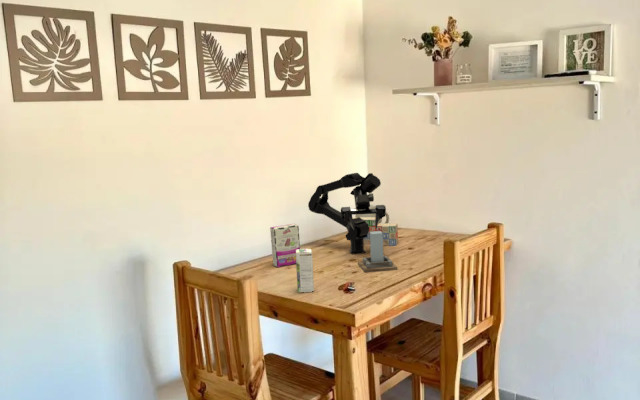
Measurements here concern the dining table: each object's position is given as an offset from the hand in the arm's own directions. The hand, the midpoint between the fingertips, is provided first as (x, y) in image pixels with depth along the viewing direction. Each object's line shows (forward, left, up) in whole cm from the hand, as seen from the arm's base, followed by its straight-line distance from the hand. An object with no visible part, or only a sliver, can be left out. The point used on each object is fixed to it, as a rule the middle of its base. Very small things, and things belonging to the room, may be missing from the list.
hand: (365, 228), depth 241 cm
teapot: (-53, +14, -14) cm, 57 cm away
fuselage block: (+11, +2, -13) cm, 17 cm away
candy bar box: (-5, -33, -14) cm, 36 cm away
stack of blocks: (-29, +10, -14) cm, 34 cm away
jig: (+11, +2, -14) cm, 17 cm away
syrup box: (+33, -29, -14) cm, 46 cm away
